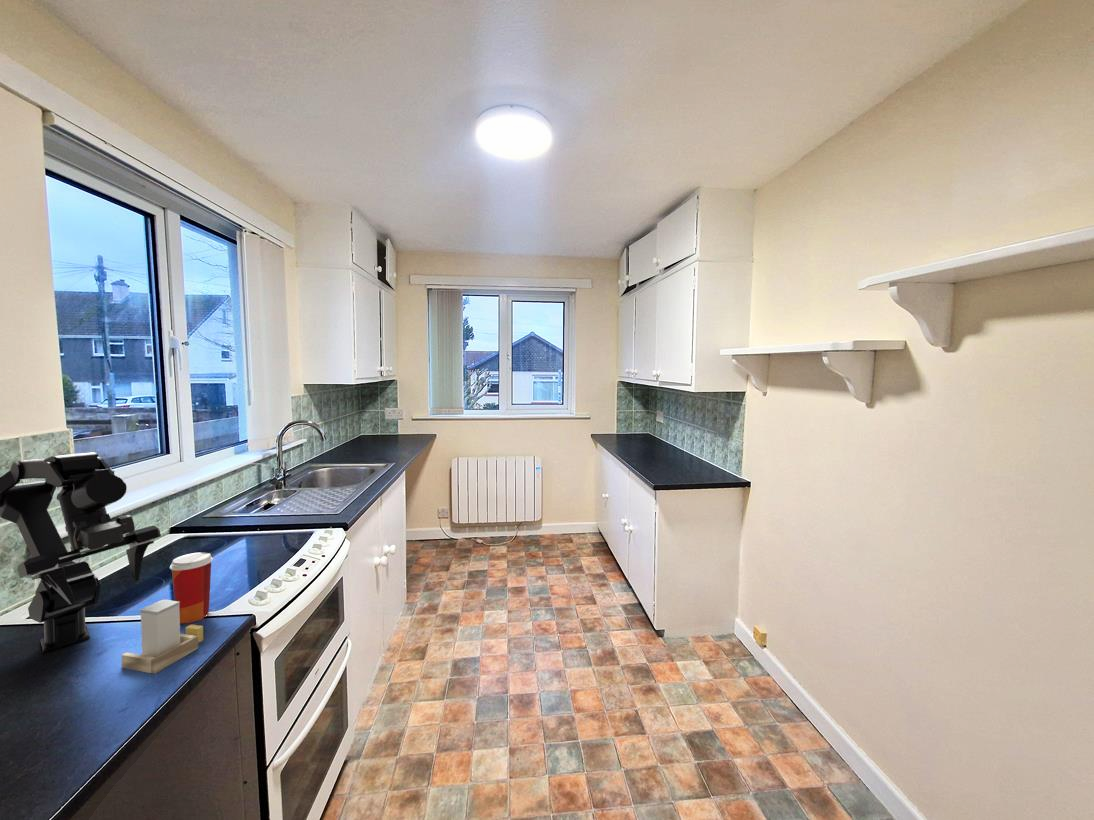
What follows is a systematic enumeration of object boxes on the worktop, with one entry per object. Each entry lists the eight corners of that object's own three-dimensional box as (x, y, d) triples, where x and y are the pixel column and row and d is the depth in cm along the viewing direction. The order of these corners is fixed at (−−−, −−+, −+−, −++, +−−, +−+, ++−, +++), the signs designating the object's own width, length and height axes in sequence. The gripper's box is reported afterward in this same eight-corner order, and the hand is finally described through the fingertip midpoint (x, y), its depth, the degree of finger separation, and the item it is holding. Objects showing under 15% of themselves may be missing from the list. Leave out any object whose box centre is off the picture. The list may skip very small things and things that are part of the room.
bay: (121, 667, 81) (121, 654, 81) (167, 643, 89) (167, 631, 89) (154, 673, 80) (154, 660, 80) (198, 648, 88) (197, 636, 88)
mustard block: (185, 641, 90) (185, 627, 90) (191, 638, 91) (191, 624, 91) (197, 643, 89) (197, 629, 89) (203, 640, 91) (202, 626, 90)
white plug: (142, 662, 83) (140, 609, 82) (164, 650, 87) (163, 599, 86) (158, 665, 82) (156, 612, 82) (181, 653, 86) (179, 601, 86)
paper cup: (196, 607, 104) (194, 550, 103) (222, 610, 102) (221, 552, 102) (161, 624, 96) (159, 562, 96) (189, 628, 95) (187, 566, 94)
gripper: (23, 523, 73) (47, 613, 72) (161, 493, 89) (181, 566, 88) (7, 534, 78) (29, 618, 77) (140, 504, 95) (159, 573, 94)
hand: (106, 592), depth 84 cm, fingers open, 9 cm apart
